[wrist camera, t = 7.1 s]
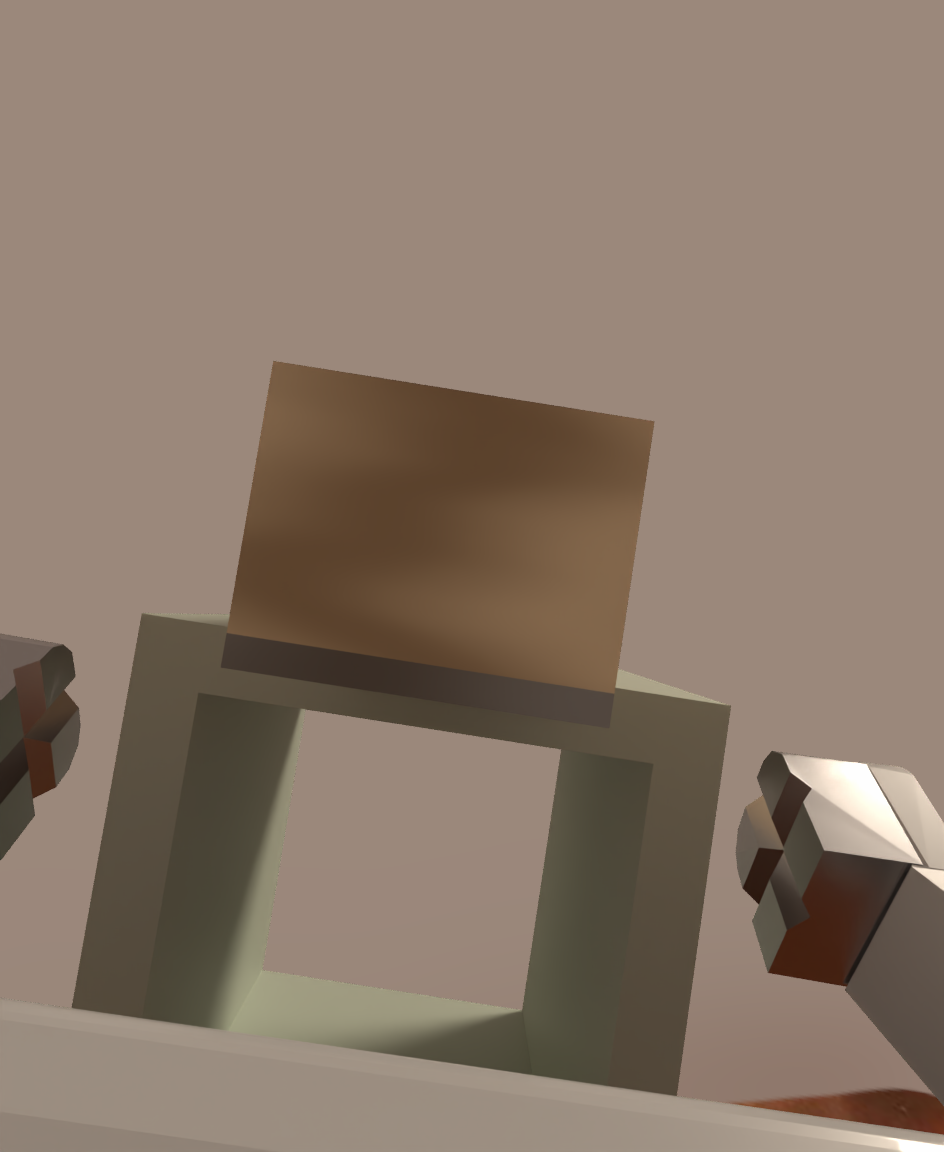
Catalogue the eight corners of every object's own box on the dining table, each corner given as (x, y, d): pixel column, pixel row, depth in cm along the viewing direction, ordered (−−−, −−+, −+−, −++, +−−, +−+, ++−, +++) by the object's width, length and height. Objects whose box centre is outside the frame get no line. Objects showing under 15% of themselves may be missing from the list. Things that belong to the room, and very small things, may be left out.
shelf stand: (510, 1359, 31) (612, 666, 32) (552, 1986, 17) (730, 705, 18) (165, 1306, 30) (282, 615, 32) (-86, 1892, 16) (142, 613, 18)
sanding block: (510, 653, 28) (525, 551, 29) (609, 728, 9) (655, 421, 10) (381, 634, 28) (398, 531, 29) (220, 667, 9) (272, 360, 10)
